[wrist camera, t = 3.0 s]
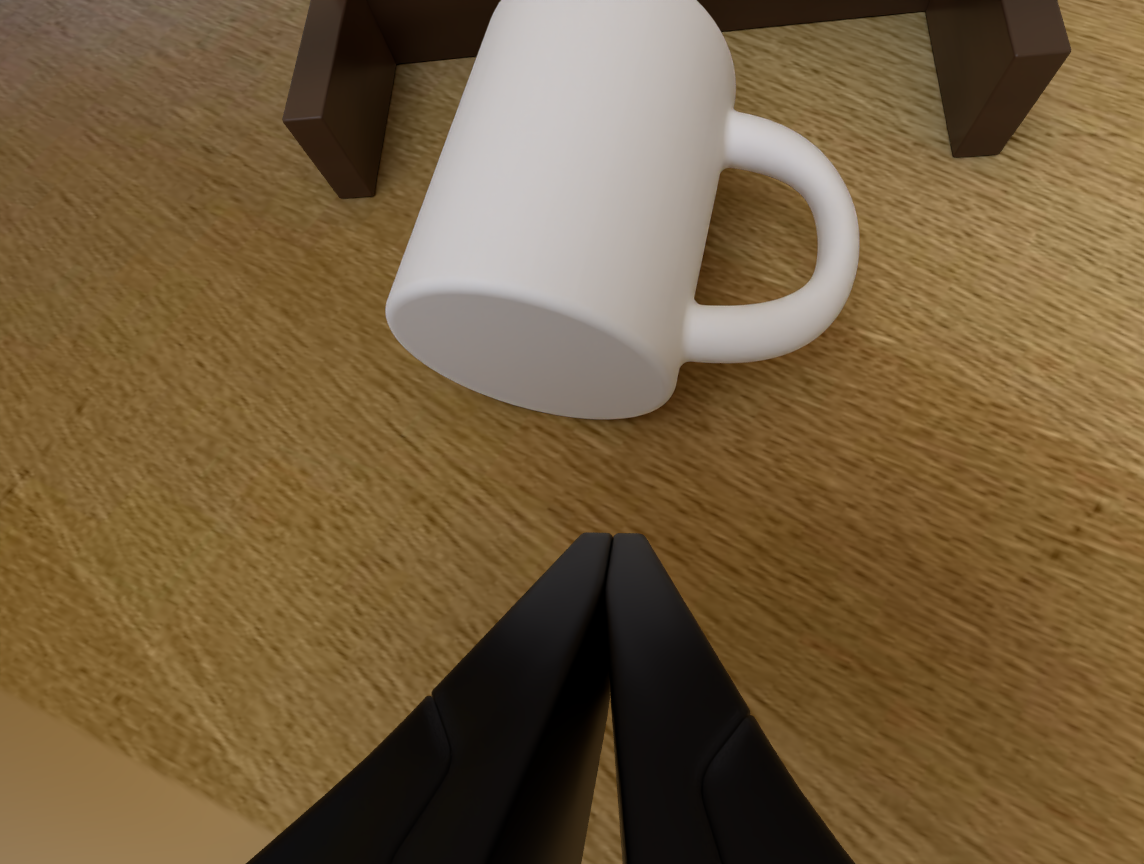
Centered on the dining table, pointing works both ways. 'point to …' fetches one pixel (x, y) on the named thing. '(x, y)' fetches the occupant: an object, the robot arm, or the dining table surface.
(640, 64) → the mug
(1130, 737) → the dining table surface
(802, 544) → the dining table surface
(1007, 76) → the shelf
